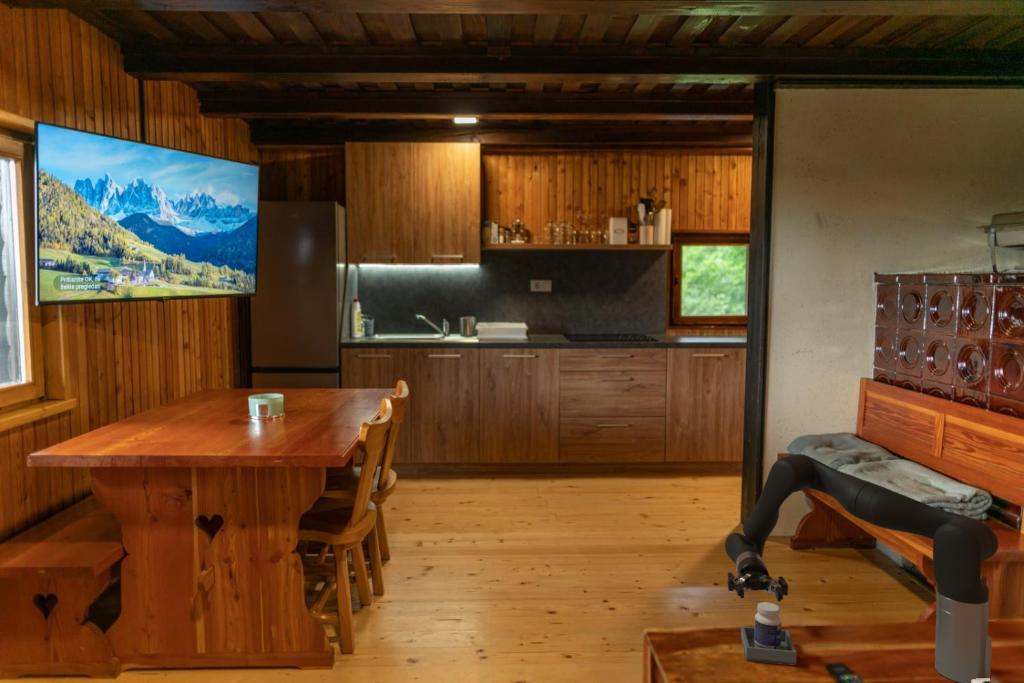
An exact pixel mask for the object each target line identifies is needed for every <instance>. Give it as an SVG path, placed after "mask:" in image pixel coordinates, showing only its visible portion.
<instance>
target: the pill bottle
mask: <svg viewBox="0 0 1024 683" xmlns="http://www.w3.org/2000/svg"><path fill="white" fill-rule="evenodd" d="M756 607H757V609H756V610H757V613H756V614H755V615H754V627H755V634H754V646H755V647H758V648H768V649H779V650H780V649H781V630H782V619H781V617H780V607H779V605H777V604H776V603H775V604H774V603H773V602H765V601H764V602H759V603H758V604H757V606H756Z"/></svg>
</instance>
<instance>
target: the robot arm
mask: <svg viewBox="0 0 1024 683" xmlns="http://www.w3.org/2000/svg"><path fill="white" fill-rule="evenodd" d="M806 489H809V490H810V489H811V490H814V491H818V492H820V493H823V494H825V495H828V496H830V497H832V498H834V499H835V501H837V502H838V504H839V505H840V506H841V507H842V508H843V509H844V510H845V511H846V512H847V513H848V514H850V515H851V516H853V517H855V518H857V519H859V520H862V521H864V522H866V523H868V524H871V525H873V526H876V527H879V528H883V529H885V530H886V529H887V530H892V531H896V532H902V533H907V534H914V535H919V536H923V537H925V538H928V539H931V540H932V570H933V571H932V573H933V578H934V581H935V583H936V608H935V609H936V615H935V616H936V617H935V620H936V621H935V643H934V644H935V645H934V646H935V648H934V649H935V650H934V652H935V653H934V669H935V670H936V672H937V673H938V674H940V675H942V676H943V677H944V678H947V679H949V680H951V681H954V682H957V683H971V680H972V679H976V678H990V679H991V677H992V676H991V675H992V674H991V673H992V672H991V671H992V670H991V669H992V647H993V646H992V643H993V640H992V639H993V638H992V637H991V636H990V635H989V634H988V631H989V630H988V628H989V622H988V621H989V597H990V596H989V594H990V590H989V587H988V585H987V584H986V583H985V582H983V581H982V573H981V572H982V570H981V567H982V564H981V563H982V562H985V561H987V560H989V559H991V558H992V557H993V556H994V555H995V554H996V553H997V551H998V549H999V540H998V537H997V535H996V533H995V532H994V531H993V529H991V527H990V526H988V525H987V524H986V523H984V522H983V521H981V520H979V519H976V518H973V517H970V516H967V515H963V514H959V513H956V512H953V511H948V510H944V509H941V508H937V507H935V506H933V505H929V504H926V503H924V502H921V501H920V500H917V499H914V498H912V497H910V496H907V495H904V494H901V493H899V492H897V491H894V490H892V489H889V488H887V487H884V486H882V485H879V484H876V483H874V482H871V481H867V480H865V479H862V478H859V477H857V476H855V475H852V474H848V473H846V472H843V471H840V470H838V469H835V468H834V467H832V466H829V465H827V464H825V463H823V462H821V461H820V460H817V459H815V458H813V457H811V456H809V455H807V454H802V453H795V454H792V455H788V456H785V457H781V458H780V459H777V460H775V462H774V463H773V464H772V466H771V467H770V470H769V472H768V475H767V478H766V481H765V484H764V486H763V488H762V491H761V494H760V495H759V499H758V501H757V502H756V505H755V506H754V508H753V509H752V511H751V513H750V514H749V516H748V517H747V518H746V521H744V524H743V527H742V532H743V534H742V533H740V532H731V533H730V534H729V535H728V536H727V537H726V539H725V542H724V550H725V552H726V555H727V557H729V559H730V560H731V561H732V562H733V563H734V564H735V566H736V568H735V569H736V574H737V575H735V574H734V575H733V573H732V572H728V573H727V589H728V590H727V591H729V592H733V591H735V592H736V595H737V596H738V597H740V599H745V593H746V592H748V591H752V592H753V591H754V592H755V591H760V592H765V593H767V594H769V595H772V594H773V595H775V598H776V601H777V602H782V601H783V600H784V596H786V597H787V596H789V584H788V582H787V581H786V579H785V577H783V576H780V575H779V576H778V578H773V577H772V576H770V574H769V571H768V569H767V566H766V564H765V562H764V560H763V559H762V558H763V555H764V550H765V545H766V543H767V539H768V538H769V536H770V535H771V534H772V532H773V531H774V529H775V527H776V525H777V523H778V521H779V518H780V509H781V506H782V505H783V503H784V502H785V501H786V500H787V499H788V498H789V497H790V496H791V495H792V494H794V493H797V492H800V491H803V490H806Z"/></svg>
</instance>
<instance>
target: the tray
mask: <svg viewBox="0 0 1024 683" xmlns="http://www.w3.org/2000/svg"><path fill="white" fill-rule="evenodd" d="M754 634H755V626H743V625H741V626H740V640H741V643H742V648H743V653H744V656H745V660H746V662H753V663H755V662H756V663H764V664H765V663H766V664H774V663H777V664H776V665H784V664H793V665H792V666H794V665H796V666H797V651H796V648H795V645H794V643H793V641H792V638H791V636H790V633H789V630H788V629H781V649H780V650H779V649H768V648H758V647H755V646H754ZM778 663H780V664H778ZM781 663H782V664H781Z"/></svg>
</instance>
